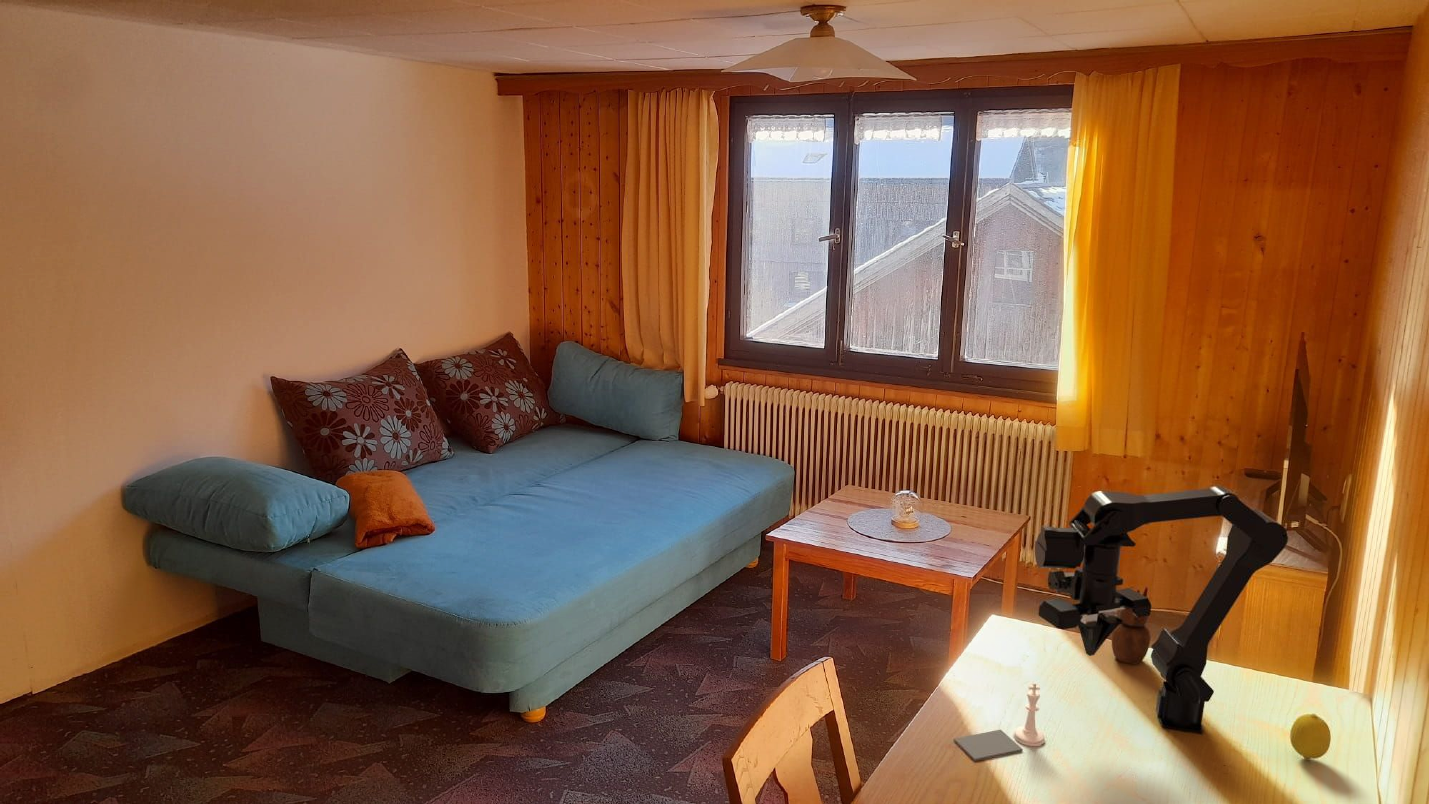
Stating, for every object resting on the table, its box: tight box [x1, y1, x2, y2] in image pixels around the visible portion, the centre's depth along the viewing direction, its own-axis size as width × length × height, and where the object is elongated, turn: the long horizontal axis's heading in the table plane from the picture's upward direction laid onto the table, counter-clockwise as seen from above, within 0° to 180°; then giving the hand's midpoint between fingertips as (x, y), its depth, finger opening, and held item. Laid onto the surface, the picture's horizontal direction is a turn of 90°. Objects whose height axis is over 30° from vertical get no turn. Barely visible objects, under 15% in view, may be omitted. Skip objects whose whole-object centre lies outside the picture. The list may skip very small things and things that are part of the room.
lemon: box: [1289, 713, 1332, 761], centre depth 161 cm, size 6×6×8 cm
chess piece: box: [1013, 682, 1046, 747], centre depth 166 cm, size 5×5×10 cm
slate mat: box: [953, 729, 1023, 762], centre depth 164 cm, size 9×6×1 cm, turn 109°
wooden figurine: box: [1110, 587, 1152, 665], centre depth 192 cm, size 7×6×15 cm
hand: (1089, 654), depth 170 cm, fingers closed
